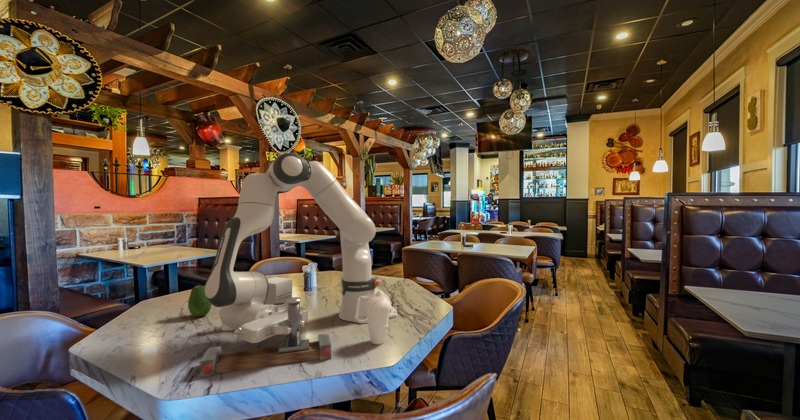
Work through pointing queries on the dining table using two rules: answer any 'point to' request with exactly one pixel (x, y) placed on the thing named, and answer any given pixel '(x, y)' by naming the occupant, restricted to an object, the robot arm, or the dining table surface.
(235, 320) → the robot arm
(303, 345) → the carriage
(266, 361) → the rail
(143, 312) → the dining table surface
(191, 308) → the avocado
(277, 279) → the supplement box
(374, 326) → the soft serve ice cream cone
